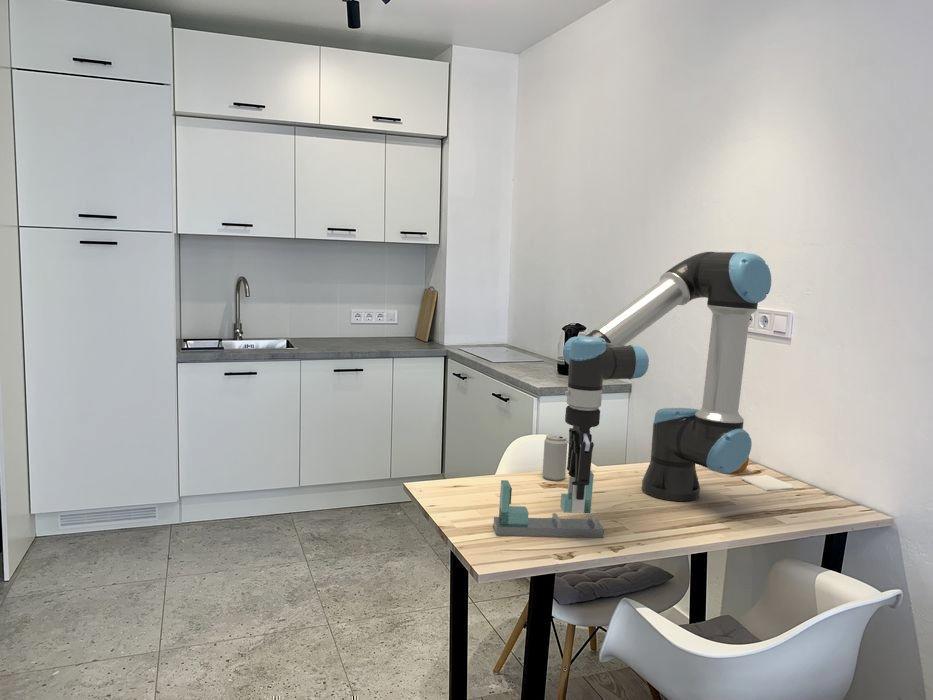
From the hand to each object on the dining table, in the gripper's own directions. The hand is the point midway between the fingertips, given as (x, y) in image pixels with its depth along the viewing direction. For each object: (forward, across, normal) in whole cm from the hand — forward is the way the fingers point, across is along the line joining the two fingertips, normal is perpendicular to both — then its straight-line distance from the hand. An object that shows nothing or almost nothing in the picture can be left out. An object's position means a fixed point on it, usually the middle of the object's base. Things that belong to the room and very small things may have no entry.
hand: (575, 508), depth 163 cm
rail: (+6, 0, -6) cm, 8 cm away
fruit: (+5, -53, +59) cm, 80 cm away
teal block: (0, 0, 0) cm, 0 cm away
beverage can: (+6, -40, +3) cm, 41 cm away
